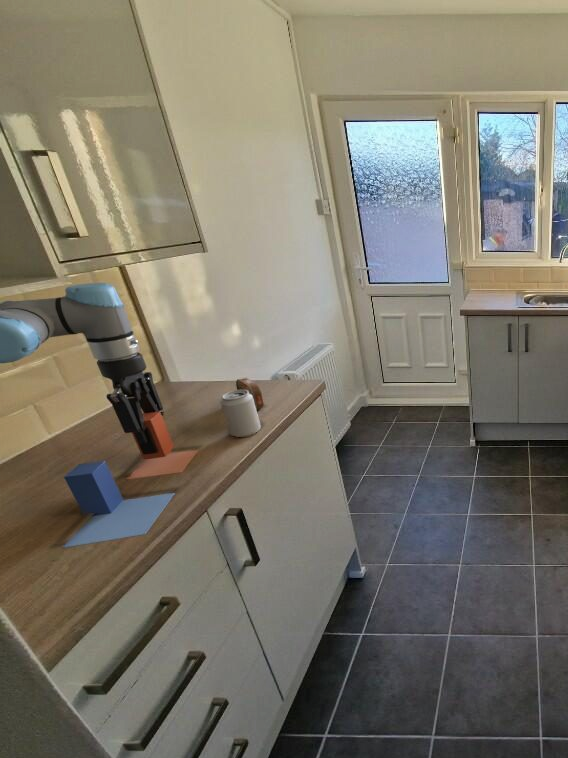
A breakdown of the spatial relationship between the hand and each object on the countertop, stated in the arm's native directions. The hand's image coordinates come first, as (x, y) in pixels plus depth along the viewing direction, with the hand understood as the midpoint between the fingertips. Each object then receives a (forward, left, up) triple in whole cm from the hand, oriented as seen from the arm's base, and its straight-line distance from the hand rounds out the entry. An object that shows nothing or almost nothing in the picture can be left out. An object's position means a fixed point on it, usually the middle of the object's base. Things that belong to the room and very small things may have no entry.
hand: (156, 446), depth 100 cm
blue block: (-4, -16, -5) cm, 17 cm away
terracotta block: (0, 0, -2) cm, 2 cm away
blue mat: (+1, -20, -5) cm, 21 cm away
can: (+15, +12, -5) cm, 20 cm away
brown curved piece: (+12, +30, -5) cm, 33 cm away
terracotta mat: (0, 0, -5) cm, 5 cm away
